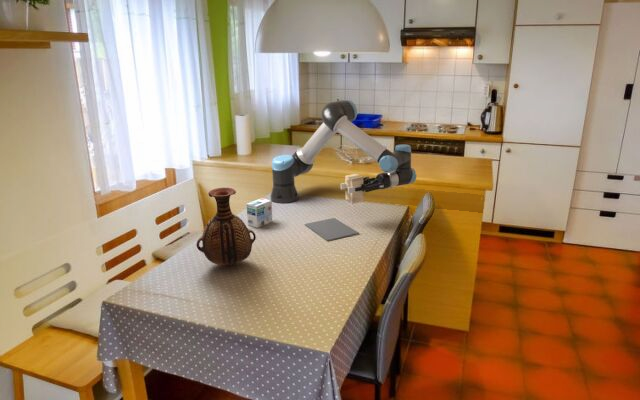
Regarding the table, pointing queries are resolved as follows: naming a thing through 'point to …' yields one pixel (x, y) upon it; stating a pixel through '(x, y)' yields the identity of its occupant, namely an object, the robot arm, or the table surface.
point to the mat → (331, 229)
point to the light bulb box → (259, 212)
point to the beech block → (353, 181)
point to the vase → (225, 233)
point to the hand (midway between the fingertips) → (344, 188)
